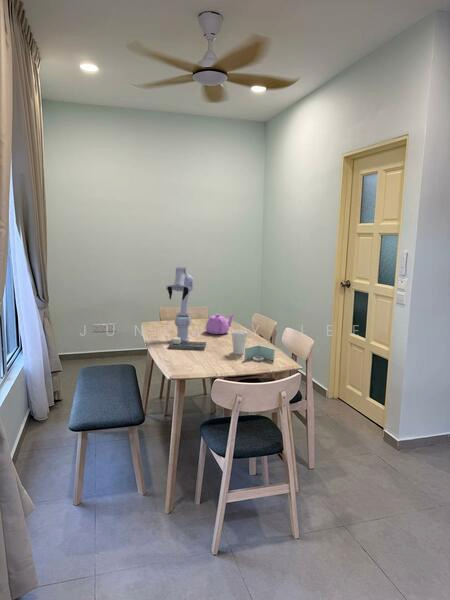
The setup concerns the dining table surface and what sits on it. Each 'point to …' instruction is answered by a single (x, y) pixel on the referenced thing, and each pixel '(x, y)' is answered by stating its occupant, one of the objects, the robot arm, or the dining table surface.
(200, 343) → the fader panel
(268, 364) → the dining table surface
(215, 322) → the teapot
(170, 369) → the dining table surface
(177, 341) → the fader
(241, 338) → the foam cup
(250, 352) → the l-shaped corner panel
